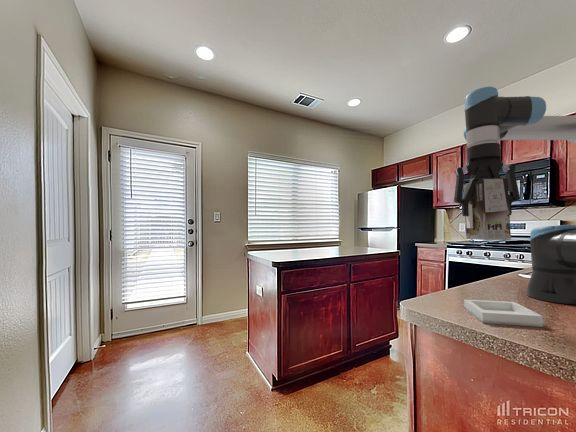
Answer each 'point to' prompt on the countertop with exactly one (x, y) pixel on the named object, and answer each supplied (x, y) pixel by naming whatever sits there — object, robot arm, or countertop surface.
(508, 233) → the printed cardboard box
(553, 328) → the countertop surface
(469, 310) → the shallow grey tray
